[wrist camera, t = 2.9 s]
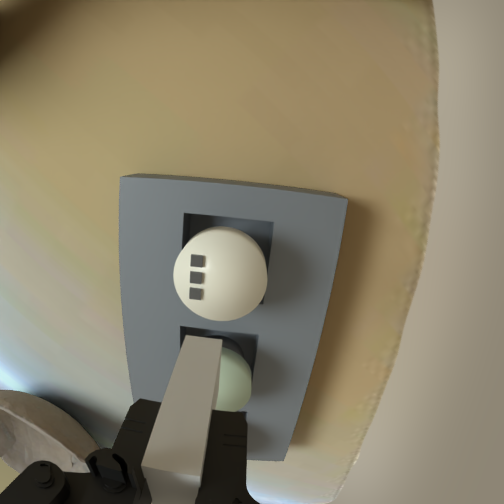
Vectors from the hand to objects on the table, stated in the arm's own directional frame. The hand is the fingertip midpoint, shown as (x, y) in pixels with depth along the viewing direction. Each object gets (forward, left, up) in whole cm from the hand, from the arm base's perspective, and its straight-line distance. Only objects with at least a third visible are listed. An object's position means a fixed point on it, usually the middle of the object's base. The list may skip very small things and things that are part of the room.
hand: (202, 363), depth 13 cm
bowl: (-26, -33, -17) cm, 45 cm away
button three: (0, 0, -14) cm, 14 cm away
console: (0, -10, -17) cm, 20 cm away
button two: (0, -10, -14) cm, 17 cm away
